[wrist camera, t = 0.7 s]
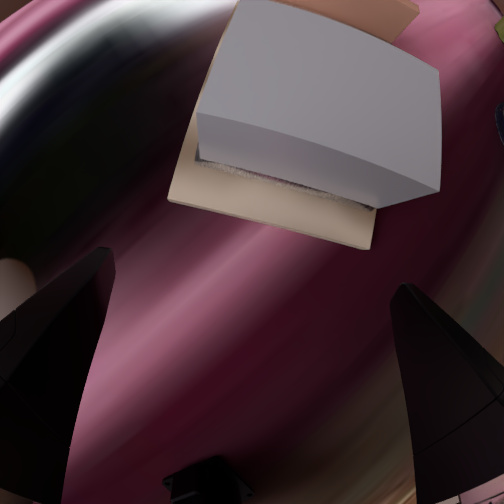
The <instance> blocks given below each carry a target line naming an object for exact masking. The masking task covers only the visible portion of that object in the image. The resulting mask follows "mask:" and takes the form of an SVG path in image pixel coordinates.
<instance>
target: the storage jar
mask: <svg viewBox="0 0 504 504" xmlns="http://www.w3.org/2000/svg"><path fill="white" fill-rule="evenodd" d="M495 119H496V125H497V129H498V132H499V135H500V138H501V141H502V143H503V145H504V102H502V103H500V104H498V105H497V107H496V110H495Z"/></svg>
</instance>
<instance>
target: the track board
mask: <svg viewBox="0 0 504 504" xmlns="http://www.w3.org/2000/svg"><path fill="white" fill-rule="evenodd" d="M238 3H239V1H237V3H236V5H235V8H234V10H233V12H232V14H231V17H230V19H229V21H228V23H227V26H226V28H225V31H224V33H223V35H222V38H221V40H220V43H219V45H218V47H217V50H216V52H215V55H214V58H213V60H212V63H211V65H210V68H209V70H208V73H207V76H206V78H205V81H204V84H203V87H202V89H201V92H200V95H199V98H198V101H197V103H196V106H195V109H194V112H193V115H192V118H191V121H190V124H189V127H188V130H187V133H186V136H185V140H184V143H183V146H182V149H181V153H180V156H179V159H178V162H177V166H176V169H175V173H174V176H173V180H172V183H171V187H170V191H169V194H168V198H167V199H168V200H169V201H170V202H174V203H178V204H183V205H187V206H191V207H196V208H200V209H204V210H209V211H213V212H217V213H221V214H225V215H230V216H234V217H238V218H242V219H246V220H250V221H254V222H258V223H262V224H266V225H270V226H274V227H278V228H282V229H286V230H290V231H294V232H298V233H302V234H306V235H309V236H313V237H317V238H321V239H325V240H328V241H332V242H336V243H340V244H343V245H347V246H351V247H355V248H358V249H362V250H369V249H370V245H371V239H372V234H373V228H374V222H375V216H376V209H377V208H375V209H374V210H373V211H371V212H365V211H362V210H359V209H356V208H353V207H350V206H347V205H343V204H340V203H337V202H333V201H330V200H327V199H323V198H320V197H317V196H313V195H310V194H306V193H303V192H299V191H296V190H292V189H289V188H285V187H281V186H278V185H274V184H270V183H266V182H263V181H259V180H255V179H251V178H247V177H243V176H239V175H235V174H231V173H227V172H222V171H218V170H214V169H210V168H205V167H201V166H196V165H195V154H196V148H197V144H198V130H197V117H196V111H197V108H198V105H199V102H200V99H201V96H202V94H203V91H204V88H205V85H206V82H207V80H208V77H209V74H210V72H211V69H212V66H213V64H214V61H215V59H216V56H217V53H218V51H219V48H220V46H221V43H222V41H223V38H224V36H225V34H226V31H227V29H228V26H229V24H230V22H231V19H232V17H233V15H234V12H235V10H236V8H237V6H238Z"/></svg>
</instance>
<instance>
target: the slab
mask: <svg viewBox="0 0 504 504" xmlns="http://www.w3.org/2000/svg"><path fill="white" fill-rule="evenodd" d="M196 117H197V130H198V142H199V153H200V159H204V160H208V161H212V162H217V163H221V164H225V165H229V166H233V167H238V168H242V169H246V170H250V171H253V172H257V173H261V174H265V175H269V176H272V177H276V178H280V179H283V180H287V181H291V182H294V183H298V184H301V185H305V186H308V187H312V188H315V189H318V190H322V191H325V192H328V193H331V194H335V195H338V196H341V197H344V198H347V199H351V200H354V201H357V202H360V203H363V204H366V205H369V206H372V207H375V208H378V209H379V208H382V207H386V206H389V205H393V204H397V203H400V202H404V201H407V200H411V199H414V198H418V197H421V196H425V195H429V194H432V193H436V192H439V191H440V177H441V148H442V125H441V97H440V82H439V71H438V70H437V69H435V68H433V67H432V66H430V65H428V64H427V63H425V62H423V61H421V60H420V59H418V58H416V57H414V56H412V55H410V54H408V53H407V52H405V51H403V50H401V49H399V48H397V47H395V46H393V45H391V44H389V43H387V42H385V41H382V40H380V39H378V38H376V37H374V36H371V35H369V34H367V33H365V32H362V31H360V30H357V29H355V28H353V27H350V26H348V25H345V24H342V23H340V22H337V21H334V20H332V19H329V18H326V17H323V16H320V15H317V14H314V13H311V12H308V11H305V10H302V9H298V8H295V7H291V6H288V5H284V4H280V3H277V2H273V1H269V0H240V1H239V3H238V6H237V8H236V10H235V12H234V15H233V17H232V19H231V22H230V24H229V26H228V29H227V31H226V34H225V36H224V38H223V41H222V43H221V46H220V48H219V51H218V53H217V56H216V59H215V61H214V64H213V66H212V69H211V72H210V74H209V77H208V80H207V82H206V85H205V88H204V91H203V94H202V96H201V99H200V102H199V105H198V108H197V111H196Z"/></svg>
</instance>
